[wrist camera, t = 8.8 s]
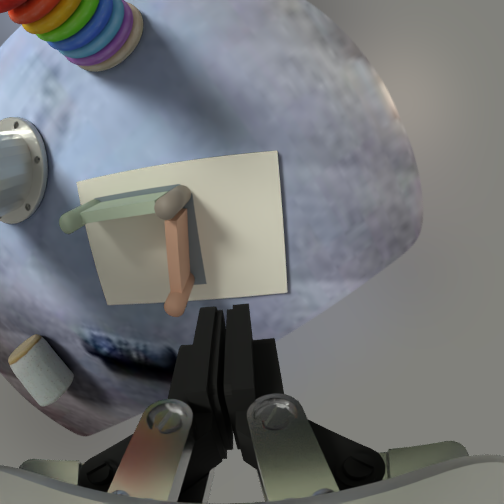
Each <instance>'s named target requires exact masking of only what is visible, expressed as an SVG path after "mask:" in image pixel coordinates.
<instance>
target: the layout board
mask: <svg viewBox="0 0 504 504" xmlns="http://www.w3.org/2000/svg"><path fill="white" fill-rule="evenodd" d="M178 185H184V186H186V187H188V188H189V190H190V192H191V198H190V200H189V201H188V202H187V203H186V204H185V206H184V207H183V208H187V217H188V239H189V257H190V273H192V274H193V275H194V278H195V282H194V285H193V288H192V290H191V293H190V296H189V299H188V301H194V300H208V299H221V298H234V297H246V296H257V295H268V294H278V293H287V277H286V260H285V244H284V229H283V215H282V201H281V189H280V176H279V165H278V153H277V151H268V152H256V153H246V154H236V155H227V156H219V157H211V158H203V159H196V160H189V161H182V162H175V163H169V164H163V165H157V166H151V167H146V168H140V169H135V170H130V171H125V172H120V173H115V174H110V175H105V176H101V177H96V178H92V179H87V180H83V181H79V182H77V187H78V193H79V198H80V203H81V205H83V204H85V203H87V202H89V201H91V200H94V199H96V200H99V201H100V202H105V201H110V200H116V199H122V198H128V197H134V196H140V195H146V194H152V193H159V192H166V191H168V192H169V191H170V190H172V189H173V188H175V187H176V186H178ZM164 221H165V220H163V219H161V218H159V217H158V216H157V215H156V213H152V214H145V215H138V216H131V217H124V218H118V219H111V220H105V221H99V222H92V223H87V224H86V225H85V226H86V231H87V235H88V239H89V243H90V247H91V251H92V255H93V258H94V262H95V266H96V269H97V273H98V276H99V279H100V283H101V286H102V289H103V292H104V296H105V299H106V302H107V305H122V304H144V303H162V302H165V301H166V299H167V297H168V295H169V293H170V282H169V272H168V261H167V250H166V237H165V222H164Z"/></svg>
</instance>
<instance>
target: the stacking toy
mask: <svg viewBox="0 0 504 504" xmlns="http://www.w3.org/2000/svg"><path fill="white" fill-rule="evenodd" d="M7 11H8V14H9V17H10V18H11V20H12V21H14V22H15V23H18V24H22V26H23V28H24V29H25V30H26V31H27V32H29V33H32V34H36V35H37V36H38V37H39V38H40V39H42V40H44V41H47V43H48V44H49V45H50V46H51V47H53V48H54V49H57V50H59V52H60V53H62V54H63V55H64V56H65V57H66V58H67V59H68V60H69V61H70V62H72V63H74V64H76V65H78V66H79V67H81V68H82V69H84V70H87V71H95V72H97V71H104V70H107V69H110V68H112V67H114V66H116V65H118V64H119V63H121V62H122V61H123V60H125V59H126V58H127V57H128V56H129V55H130V54H131V53H132V52H133V50H134V49H135V48H136V46H137V44H138V42H139V40H140V38H141V35H142V31H143V19H142V16H141V13H140V12H139V10H138V9H137V8H136V7H135V6H133V5H132V4H130V3H127V2H125V1H124V0H0V13H3V12H7Z"/></svg>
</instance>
